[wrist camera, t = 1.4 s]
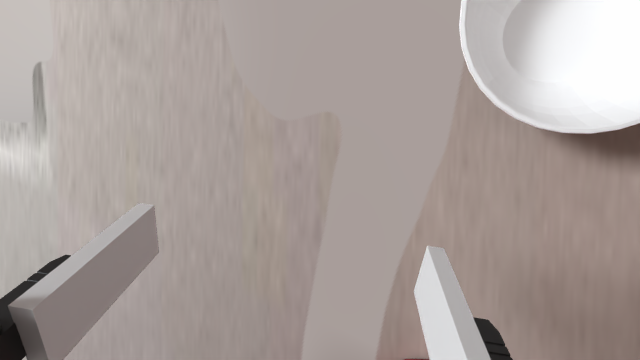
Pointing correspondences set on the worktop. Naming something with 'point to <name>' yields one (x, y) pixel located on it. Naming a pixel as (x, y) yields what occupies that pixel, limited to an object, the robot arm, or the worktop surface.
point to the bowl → (557, 60)
